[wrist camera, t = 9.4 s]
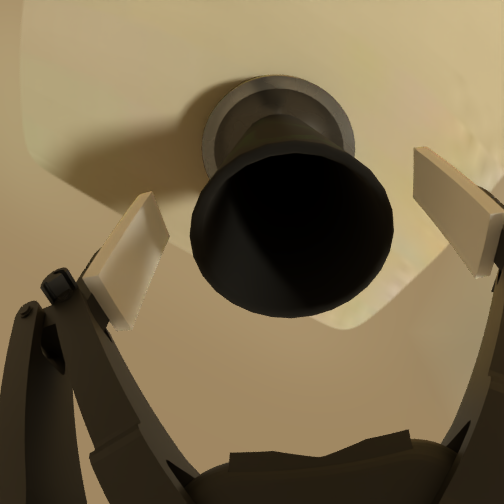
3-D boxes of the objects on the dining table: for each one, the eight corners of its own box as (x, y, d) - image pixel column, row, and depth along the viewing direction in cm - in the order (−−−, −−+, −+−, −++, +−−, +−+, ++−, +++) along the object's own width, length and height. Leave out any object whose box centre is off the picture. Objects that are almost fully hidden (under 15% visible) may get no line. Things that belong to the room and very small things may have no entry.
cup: (317, 210, 24) (350, 328, 14) (217, 191, 23) (183, 304, 13) (345, 114, 20) (424, 175, 10) (235, 89, 19) (203, 120, 9)
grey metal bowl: (192, 91, 21) (183, 95, 19) (336, 65, 20) (345, 66, 18) (226, 215, 27) (222, 231, 25) (352, 195, 26) (360, 209, 24)
